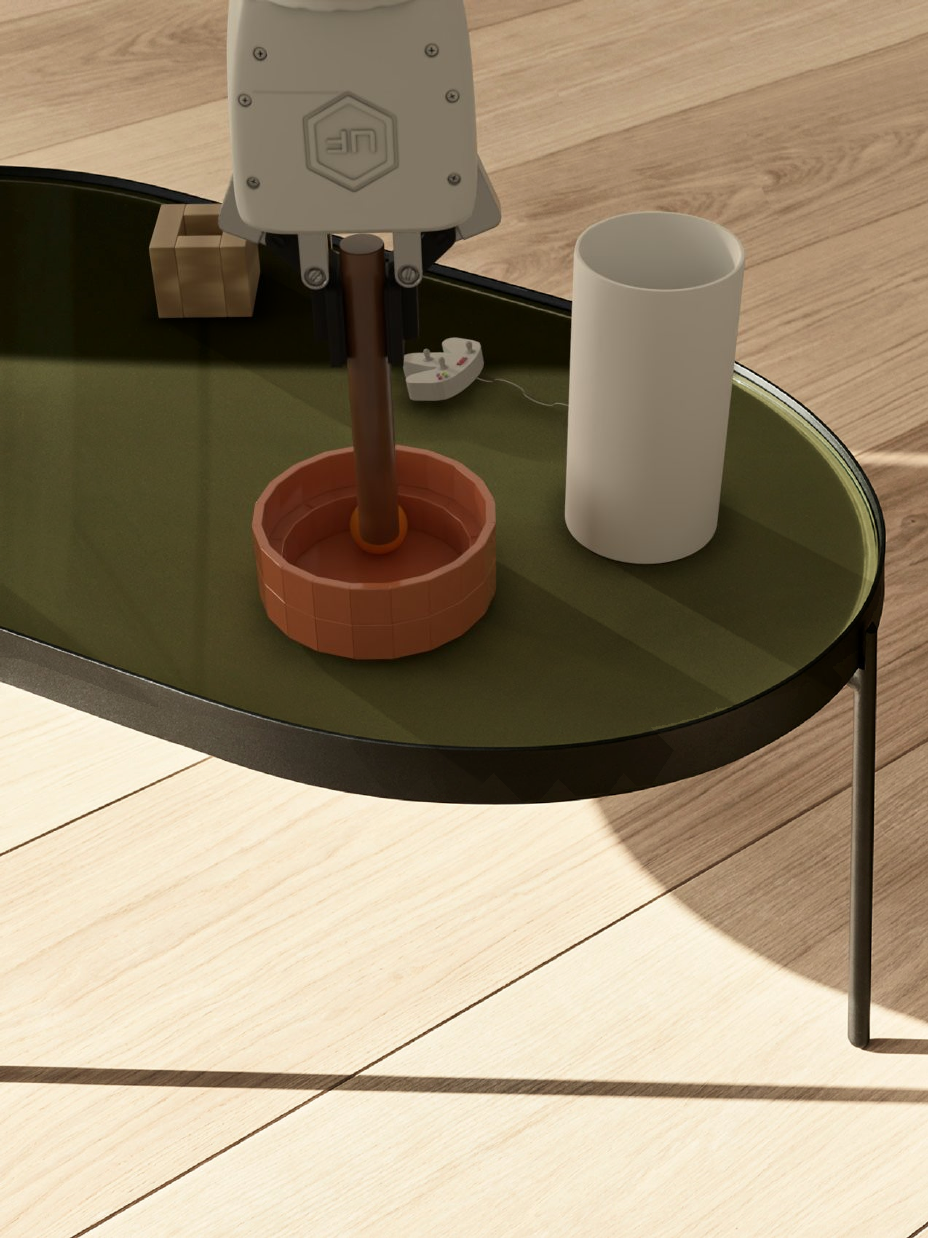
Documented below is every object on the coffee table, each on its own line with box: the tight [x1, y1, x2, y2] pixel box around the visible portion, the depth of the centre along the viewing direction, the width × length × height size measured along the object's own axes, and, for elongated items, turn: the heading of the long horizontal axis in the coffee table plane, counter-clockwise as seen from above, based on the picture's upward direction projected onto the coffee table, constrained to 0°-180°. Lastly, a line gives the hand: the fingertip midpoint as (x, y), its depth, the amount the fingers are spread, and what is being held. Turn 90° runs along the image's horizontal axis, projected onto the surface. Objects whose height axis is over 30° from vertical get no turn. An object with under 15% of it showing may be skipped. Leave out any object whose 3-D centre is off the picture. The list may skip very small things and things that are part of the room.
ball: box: [350, 505, 408, 554], centre depth 87 cm, size 3×3×3 cm
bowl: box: [251, 444, 497, 660], centre depth 85 cm, size 12×12×5 cm
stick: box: [338, 233, 400, 545], centre depth 78 cm, size 2×2×16 cm
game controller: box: [402, 337, 569, 407], centre depth 100 cm, size 6×12×3 cm, turn 81°
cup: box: [564, 210, 746, 565], centre depth 86 cm, size 8×8×16 cm
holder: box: [148, 203, 261, 319], centre depth 108 cm, size 6×6×5 cm
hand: (368, 348), depth 77 cm, fingers closed on stick, 2 cm apart
